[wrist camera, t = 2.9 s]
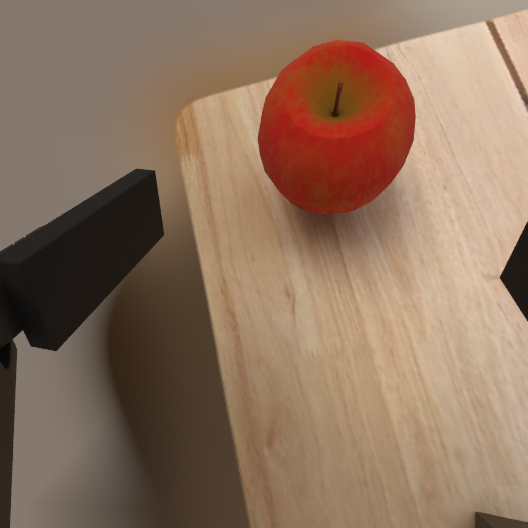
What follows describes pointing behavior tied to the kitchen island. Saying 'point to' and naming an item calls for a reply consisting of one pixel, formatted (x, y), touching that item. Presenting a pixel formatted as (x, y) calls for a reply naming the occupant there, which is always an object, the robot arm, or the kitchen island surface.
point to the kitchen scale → (497, 522)
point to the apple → (336, 127)
